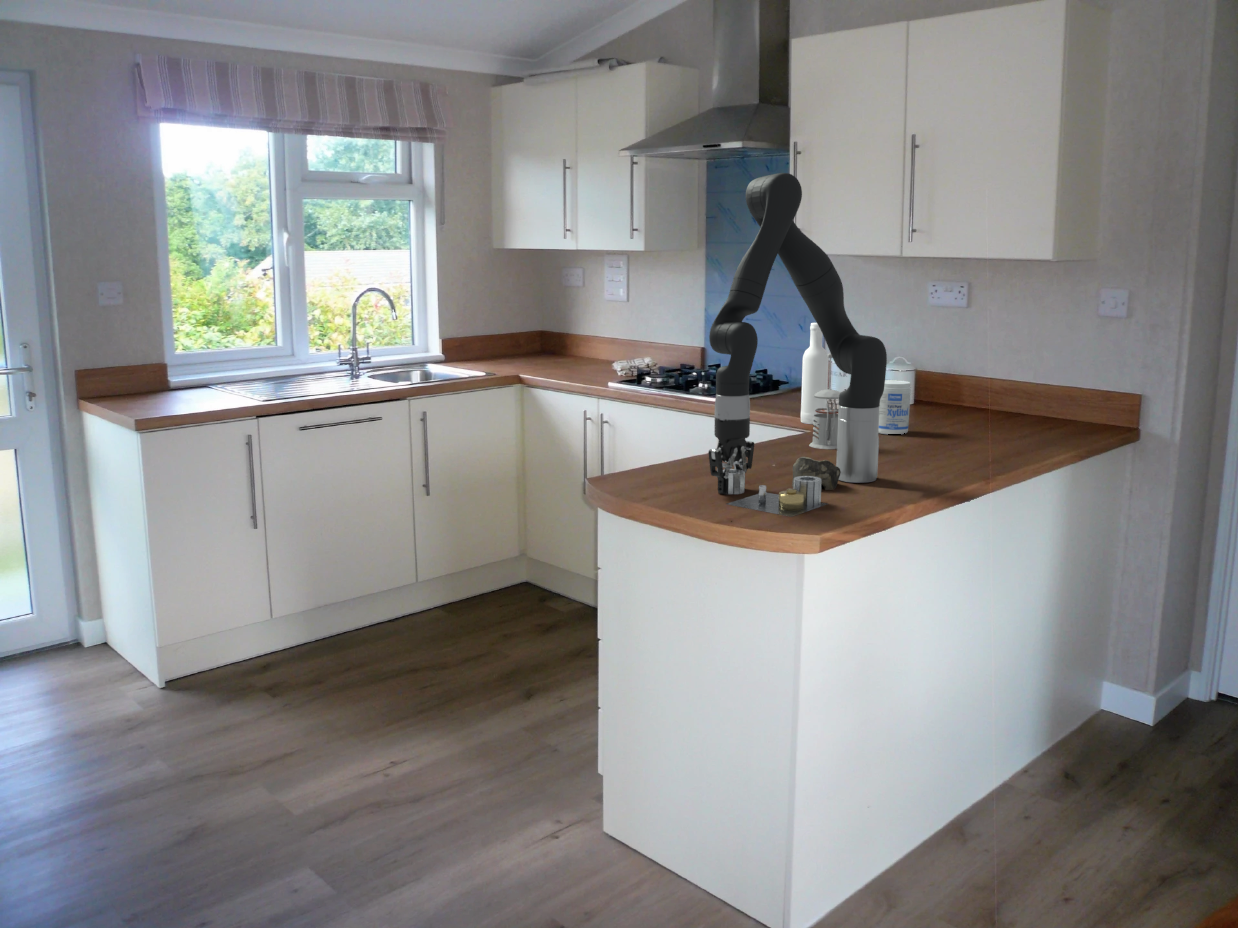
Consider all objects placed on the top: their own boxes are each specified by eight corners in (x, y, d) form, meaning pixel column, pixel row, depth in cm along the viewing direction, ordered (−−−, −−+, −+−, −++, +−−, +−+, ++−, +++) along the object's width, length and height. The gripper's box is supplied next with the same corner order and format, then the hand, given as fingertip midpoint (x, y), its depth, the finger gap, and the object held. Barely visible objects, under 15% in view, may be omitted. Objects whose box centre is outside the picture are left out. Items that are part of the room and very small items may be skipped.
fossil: (833, 482, 245) (841, 448, 238) (840, 509, 238) (848, 475, 231) (786, 481, 245) (792, 446, 238) (791, 508, 238) (798, 473, 231)
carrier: (763, 497, 233) (764, 474, 232) (828, 509, 223) (829, 485, 222) (725, 509, 223) (725, 485, 222) (791, 522, 212) (792, 497, 211)
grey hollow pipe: (797, 498, 227) (798, 475, 226) (823, 500, 225) (824, 477, 224) (789, 503, 222) (790, 480, 221) (815, 506, 220) (816, 482, 219)
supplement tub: (889, 436, 304) (892, 384, 301) (867, 431, 312) (869, 380, 309) (915, 433, 308) (918, 382, 305) (892, 428, 316) (895, 378, 313)
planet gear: (728, 490, 238) (728, 467, 237) (749, 493, 234) (749, 471, 233) (713, 494, 234) (713, 472, 233) (734, 498, 230) (734, 475, 229)
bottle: (811, 419, 333) (815, 321, 327) (832, 422, 327) (835, 323, 321) (794, 422, 328) (797, 323, 322) (815, 425, 322) (818, 324, 316)
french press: (843, 442, 295) (847, 351, 290) (848, 450, 284) (852, 355, 279) (807, 442, 296) (810, 351, 291) (810, 450, 285) (813, 355, 280)
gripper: (737, 409, 238) (736, 484, 241) (697, 417, 227) (697, 495, 231) (765, 412, 233) (764, 488, 237) (726, 421, 223) (725, 501, 226)
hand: (731, 491), depth 234 cm, fingers closed on planet gear, 5 cm apart
